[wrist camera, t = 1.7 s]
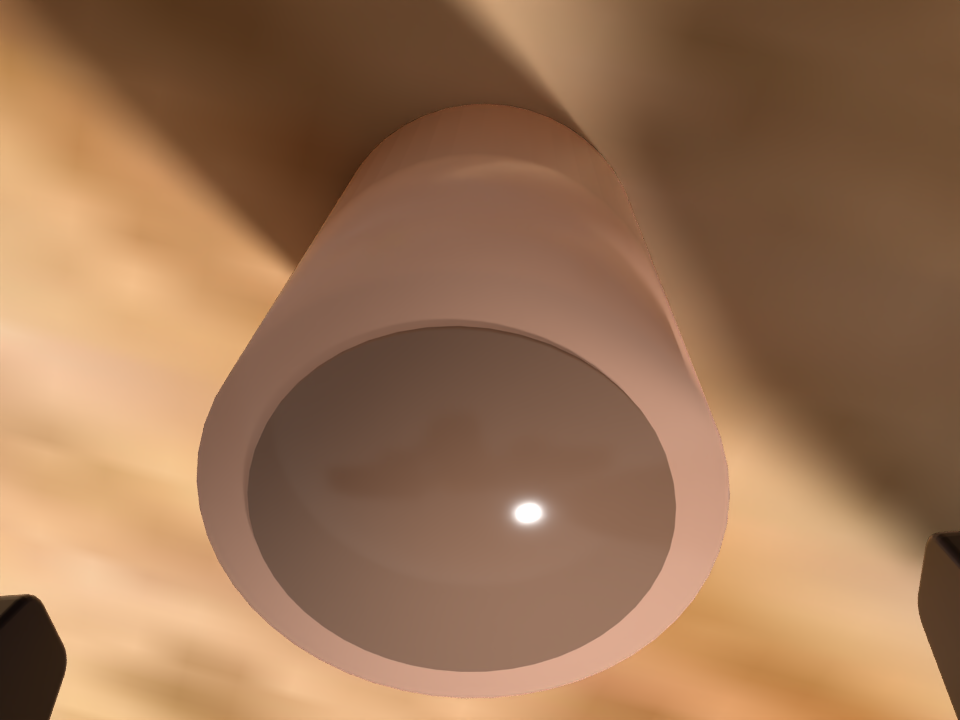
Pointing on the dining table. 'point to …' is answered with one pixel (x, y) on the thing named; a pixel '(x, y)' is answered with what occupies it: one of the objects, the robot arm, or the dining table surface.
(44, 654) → the robot arm
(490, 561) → the terracotta cup
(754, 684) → the dining table surface
